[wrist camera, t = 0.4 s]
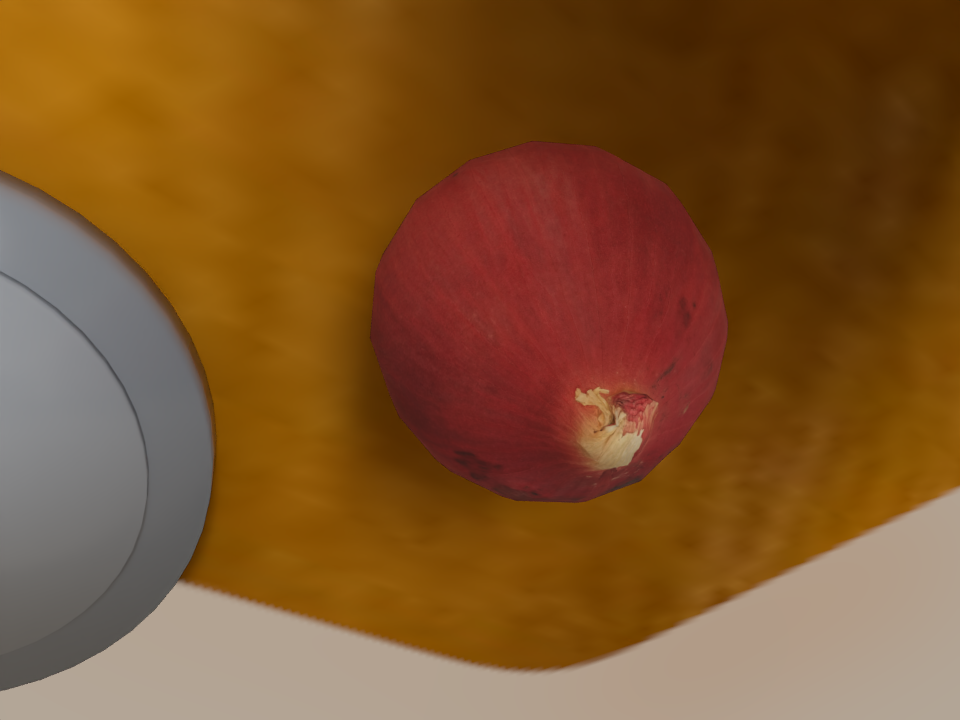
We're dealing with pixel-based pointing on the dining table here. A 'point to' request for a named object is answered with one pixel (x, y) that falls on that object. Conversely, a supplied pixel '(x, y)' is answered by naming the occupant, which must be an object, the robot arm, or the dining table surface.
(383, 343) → the onion
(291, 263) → the dining table surface
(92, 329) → the plate
